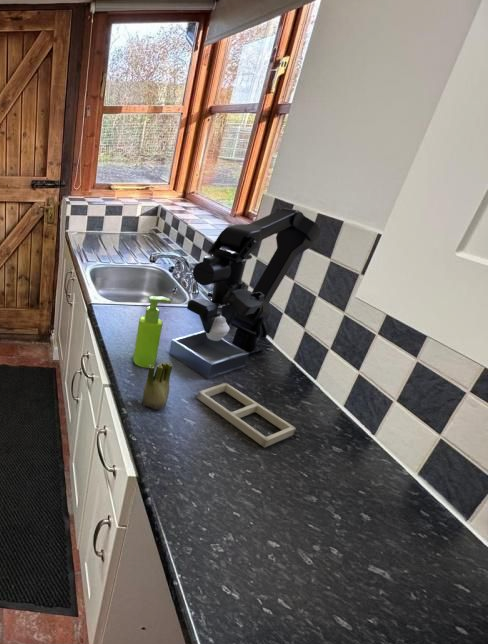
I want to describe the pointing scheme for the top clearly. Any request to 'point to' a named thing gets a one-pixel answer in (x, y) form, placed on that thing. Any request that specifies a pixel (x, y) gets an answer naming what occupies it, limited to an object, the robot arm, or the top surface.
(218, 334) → the white spiral shell
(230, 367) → the blue-grey square tray
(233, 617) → the top surface
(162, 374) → the fennel bulb
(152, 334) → the soap dispenser
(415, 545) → the top surface
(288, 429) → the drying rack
